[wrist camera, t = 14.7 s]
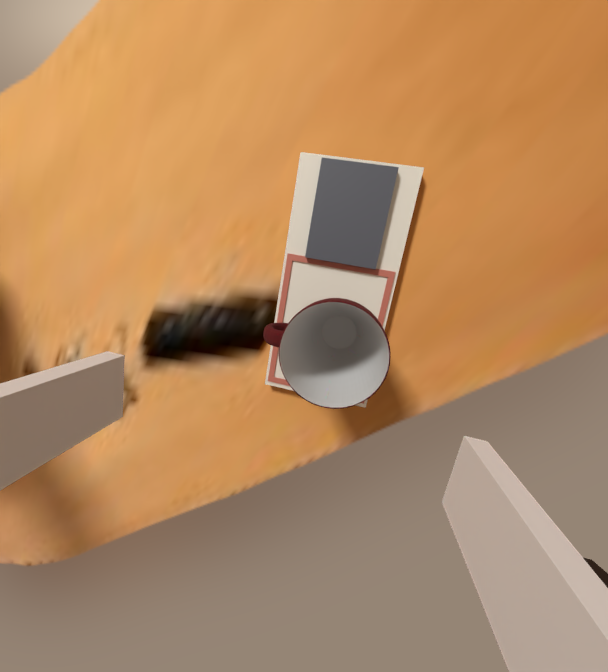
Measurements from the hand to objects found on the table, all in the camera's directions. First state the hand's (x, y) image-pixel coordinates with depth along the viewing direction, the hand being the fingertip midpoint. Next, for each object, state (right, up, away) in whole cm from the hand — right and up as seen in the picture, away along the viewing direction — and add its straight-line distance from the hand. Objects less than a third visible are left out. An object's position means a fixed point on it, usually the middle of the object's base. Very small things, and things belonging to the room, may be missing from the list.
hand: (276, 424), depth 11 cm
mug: (+4, +4, +20) cm, 20 cm away
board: (+4, +8, +20) cm, 22 cm away
